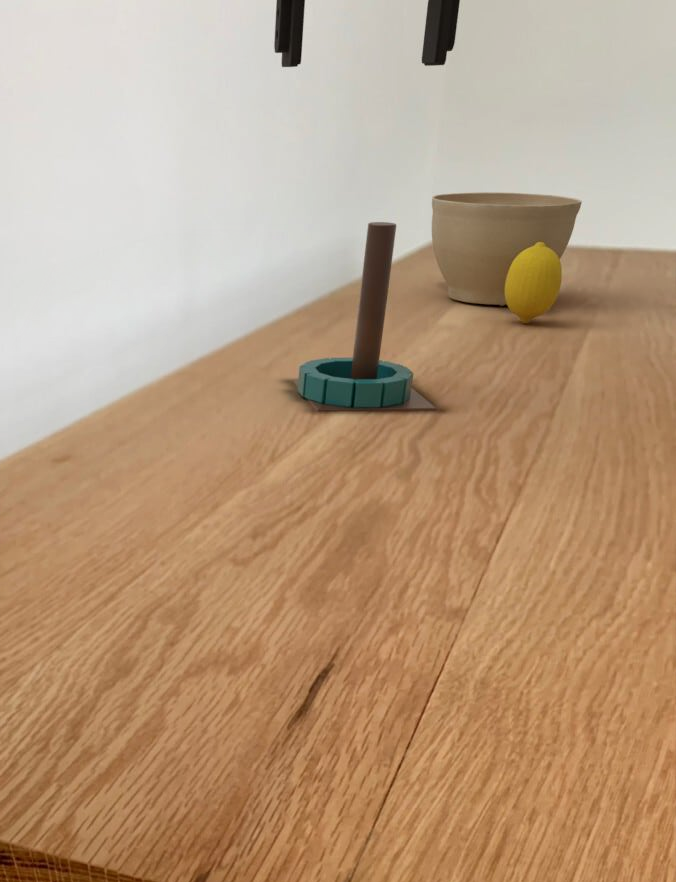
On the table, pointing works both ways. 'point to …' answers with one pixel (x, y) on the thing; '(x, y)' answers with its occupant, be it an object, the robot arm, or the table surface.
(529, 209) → the planter bowl
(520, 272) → the lemon
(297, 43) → the robot arm
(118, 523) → the table surface
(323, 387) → the ring
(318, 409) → the peg stand
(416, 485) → the table surface
